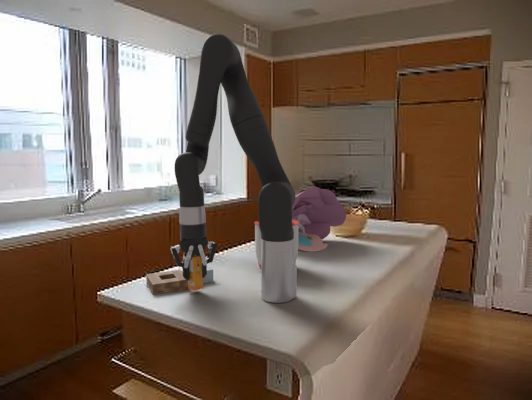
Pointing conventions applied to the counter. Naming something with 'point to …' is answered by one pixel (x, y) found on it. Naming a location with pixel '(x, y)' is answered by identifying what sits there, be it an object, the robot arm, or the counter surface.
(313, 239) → the flower arrangement
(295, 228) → the citrus juicer
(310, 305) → the counter surface
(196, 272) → the supplement box
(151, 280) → the hole plate
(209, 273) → the wide block
